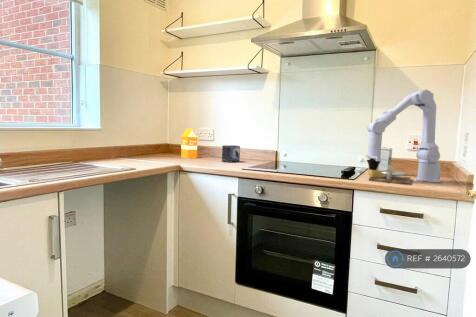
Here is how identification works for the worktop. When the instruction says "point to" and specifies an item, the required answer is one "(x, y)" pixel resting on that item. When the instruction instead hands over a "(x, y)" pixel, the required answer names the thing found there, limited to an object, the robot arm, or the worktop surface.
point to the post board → (391, 179)
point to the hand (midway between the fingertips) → (372, 174)
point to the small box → (230, 153)
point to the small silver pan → (384, 173)
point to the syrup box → (385, 159)
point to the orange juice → (189, 144)
